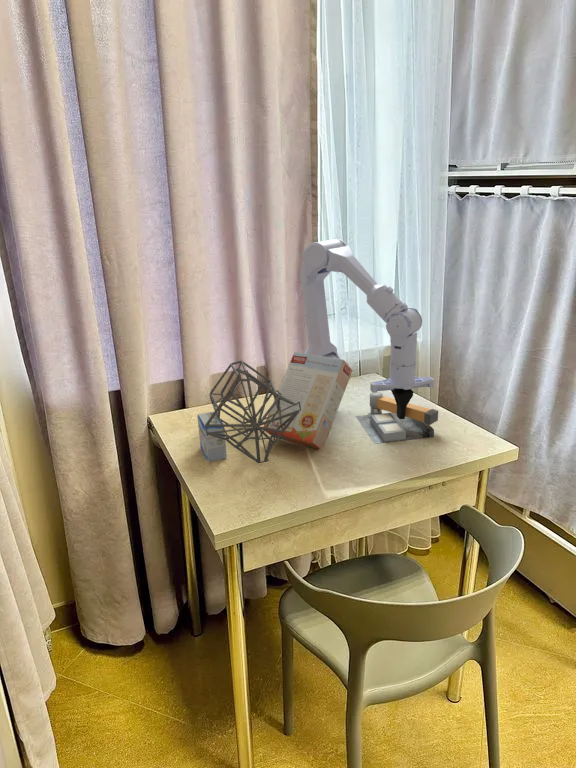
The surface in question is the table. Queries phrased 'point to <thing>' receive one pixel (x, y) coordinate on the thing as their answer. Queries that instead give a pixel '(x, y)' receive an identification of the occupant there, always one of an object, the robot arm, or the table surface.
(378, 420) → the block
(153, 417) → the table surface
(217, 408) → the geometric lantern
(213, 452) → the medicine box
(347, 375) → the cracker box
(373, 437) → the tray
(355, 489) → the table surface
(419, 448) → the table surface
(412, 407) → the swing bar
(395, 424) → the module
